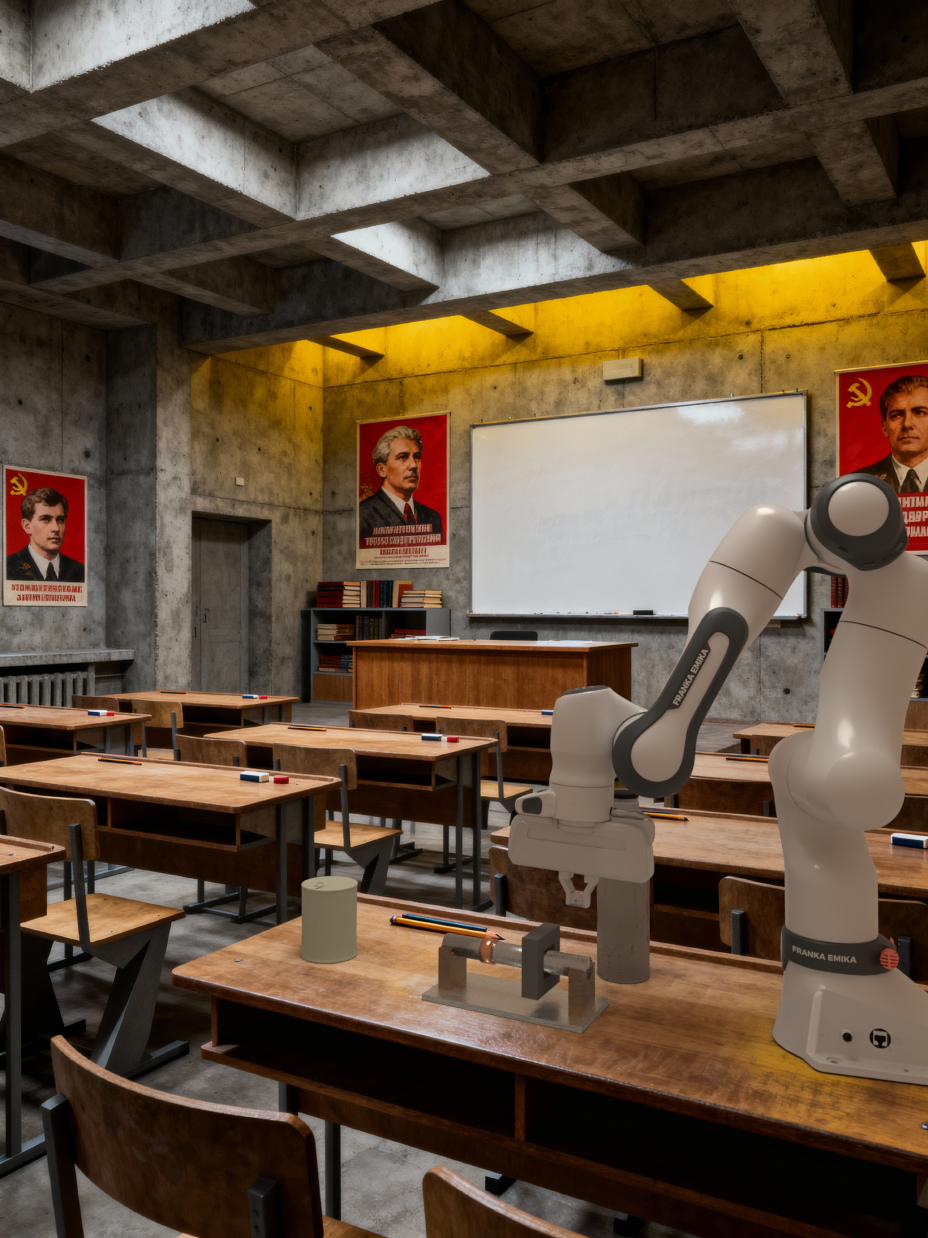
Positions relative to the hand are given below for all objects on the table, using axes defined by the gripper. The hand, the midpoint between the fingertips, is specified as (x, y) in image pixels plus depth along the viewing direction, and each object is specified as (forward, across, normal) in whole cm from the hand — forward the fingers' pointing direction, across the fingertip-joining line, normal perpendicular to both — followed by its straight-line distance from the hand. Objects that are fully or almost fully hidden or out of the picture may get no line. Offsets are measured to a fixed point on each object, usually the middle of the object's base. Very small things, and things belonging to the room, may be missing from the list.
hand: (577, 905), depth 126 cm
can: (+16, +44, -4) cm, 47 cm away
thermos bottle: (+15, -1, -18) cm, 24 cm away
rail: (+15, +9, 0) cm, 18 cm away
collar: (+12, +5, 0) cm, 13 cm away
